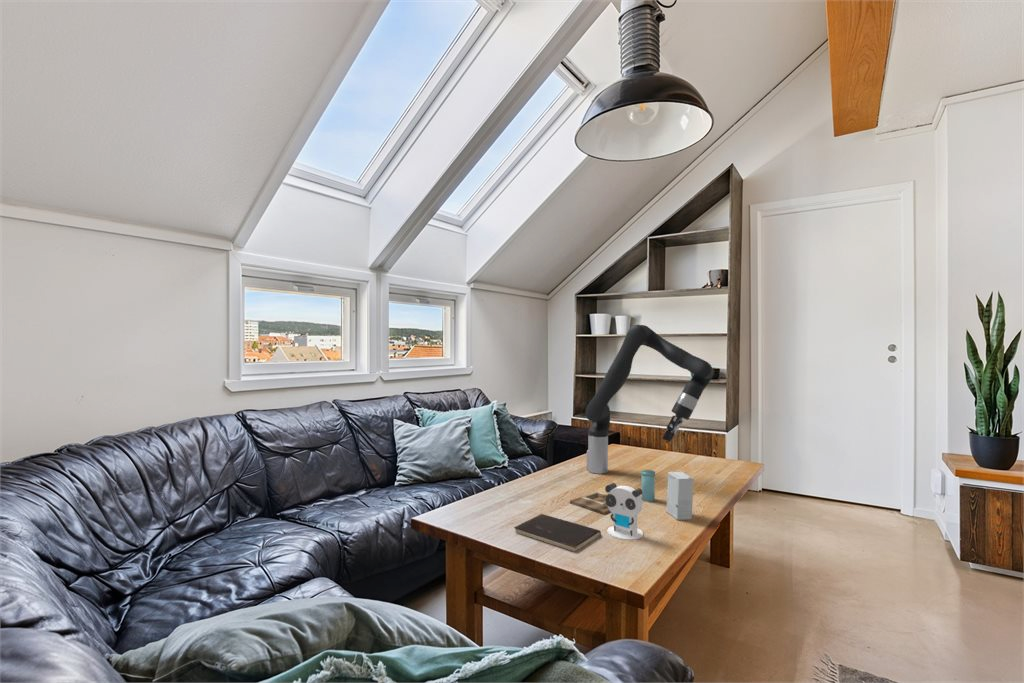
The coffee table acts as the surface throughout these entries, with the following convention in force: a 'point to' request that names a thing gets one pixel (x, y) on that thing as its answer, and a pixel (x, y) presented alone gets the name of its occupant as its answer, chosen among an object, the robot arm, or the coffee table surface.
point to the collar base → (593, 502)
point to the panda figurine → (624, 511)
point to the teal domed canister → (648, 485)
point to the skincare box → (679, 495)
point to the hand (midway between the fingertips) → (666, 440)
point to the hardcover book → (558, 532)
